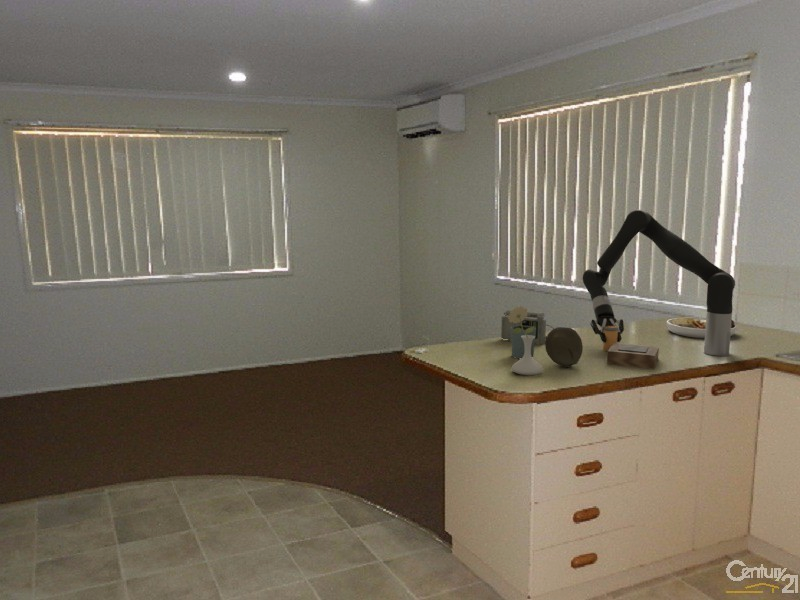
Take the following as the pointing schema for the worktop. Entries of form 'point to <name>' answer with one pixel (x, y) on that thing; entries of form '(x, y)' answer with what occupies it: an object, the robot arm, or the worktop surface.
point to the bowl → (692, 327)
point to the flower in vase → (526, 362)
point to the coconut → (564, 346)
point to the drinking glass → (521, 341)
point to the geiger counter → (536, 322)
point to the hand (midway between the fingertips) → (612, 341)
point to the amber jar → (610, 336)
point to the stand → (633, 355)
